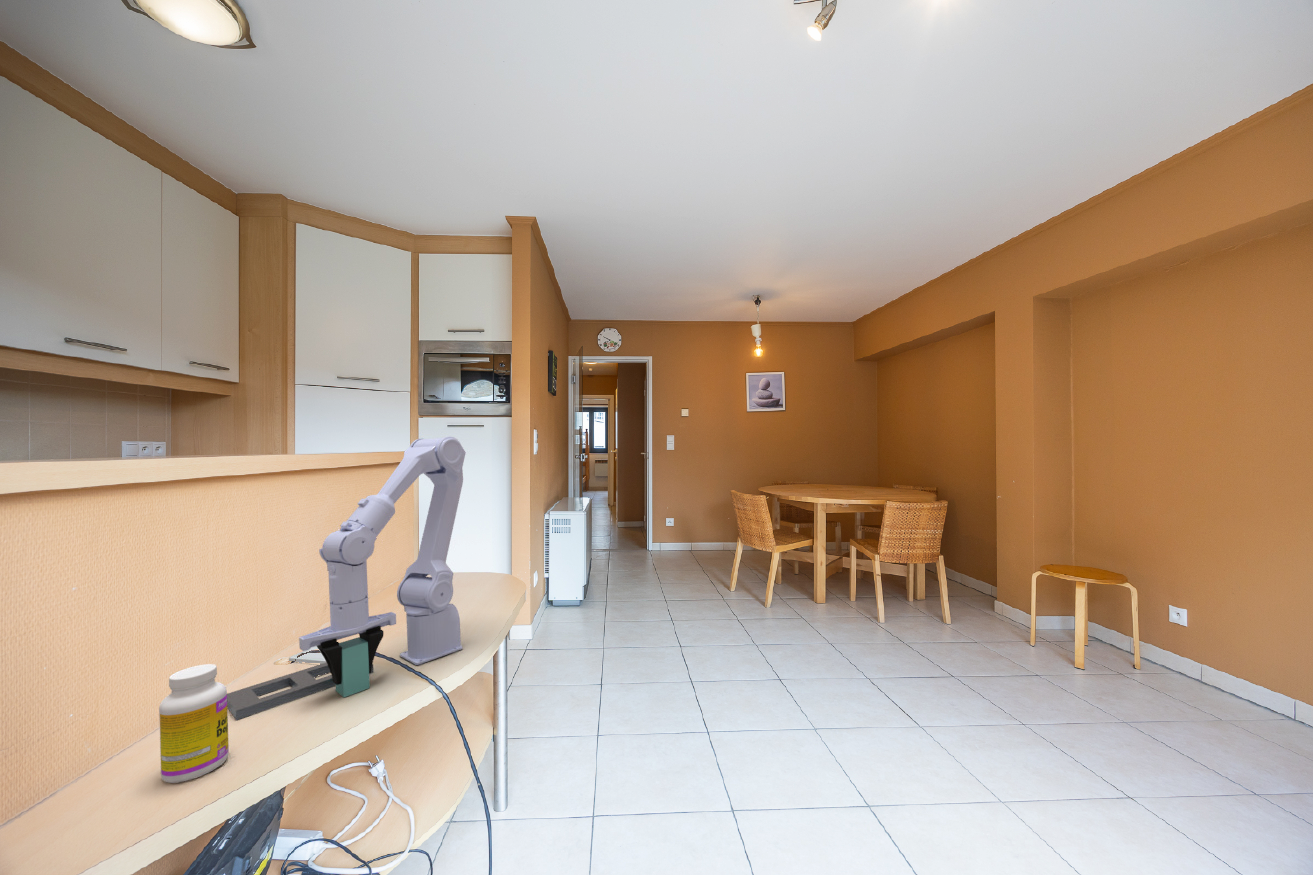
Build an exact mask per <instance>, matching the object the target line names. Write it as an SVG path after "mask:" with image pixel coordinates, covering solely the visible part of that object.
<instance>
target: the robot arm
mask: <svg viewBox="0 0 1313 875" xmlns="http://www.w3.org/2000/svg"><path fill="white" fill-rule="evenodd" d="M466 454H467V453H466V451H465V449H464V447H463V446H462V444H461V442H460V440H459V439H458V438H455V437H454V436H444V437H435V438H417V439H415V440H414V441H412V442H411V443H410V445H409V447H408V448H407V449H406V450H404V453H403V458H402V460H401V461H400V463H399V464H398V465H397V466H396V468H395V469H394V471H393V472H392V474H390V476H389V478H388V479H387V481H386V482H385V483H384V484H383V486H382V487H381V489H379V491H378V493H377V494H371V495H368V496H366V497H365V498H360V500H359V501H358V502H357V505H358V506H357V508H356V509H355V510H354V511H353V512H352V514H351V515H350V516H349V517H348V519H347V520H346V521H343V522H342V523H341V524H340V529H339V530H336V531H333V532H331V533H329V534H328V536H326V538H325V539H324V541H323V543H322V547H321V548H319V550H318V551H319V555H320V558H321V559H322V560H323V561H324V562H325V563H326V568H327V571H326V572H328V596H329V615H330V616H329V619H330V625H329V626H327V627H325V628H322V629H320V630H319V629H318V630H317V631H314V632H313V631H312V632H311V633H308V634H305V635H302V636H299V637H298V641H299V645H298V646H299V649H300V650H301V652H302V651H305V650H309V649H310V648H311V647H315V646H317V648H318V649H319V651H320V652H321V654H322V655H323V657H324V658H325V660H326V662H327V664H328V667H329V669H330V672H331V673H330V674H331V675H332V679H333V683H335V684H336V685H339V684H341V682H342V674H341V652H342V647H341V646H339V643H340V642H339V641H338V640H341V639H346V638H349V637H352V636H353V637H354V636H356V635H358V636H359V637H360V638H362V639H364V640H365V641H367V642H368V659H369V675H371V674H372V673H371V669H372V664H373V663H374V660H375V656H376V653H377V651H378V649H379V648H378V647H379V645H380V644H381V642H382V639H384V635H385V634H384V630H383V629H382V628H384V627H387V626H389V627H390V626H395V625H397V613H395V612H393V611H390V612H385V613H381V614H375V615H370V612H369V592H368V591H369V588H368V564H367V563H368V561H367V560H368V559H369V558H370V557H371V556H372V555H373V553H374V550H375V542H376V541H377V537H378V536H379V534H380V533H381V532H382V531H383V529H384V528H385V527H386V526H387V524H388V523H389V521H390V520H391V519H392V518H393V516H394V515H396V507H395V504H396V502H397V501H398V500H399V499H400V498H401V497H402V496H403V495H404V493H406V491H408V489H409V488H410V487H411V486H412V484H413V483H414V482H416V480H417V479H418V478H419V476H421V475H423V474H424V475H425V476H426V477H427V478H428V479H429V480H430V481H431V483H433V491H432V494H431V500H430V502H429V507H428V511H427V515H426V520H425V524H424V528H423V529H424V530H423V533H422V537H421V541H420V546H419V549H418V555H417V558H416V560H415V561H414V562H413V563H412V564H410V565H408V567H407V568H406V571H405V573H404V577H403V579H402V580H401V581H400V583H399V585H398V587H397V591H396V598H397V601H398V602H399V604H400V605H402V607H403V610H404V612H406V614H405V616H406V617H405V618H406V619H405V620H406V638H407V640H406V641H407V643H406V644H407V650H406V651H403V652H401V653H399V657H401V658H403V659H405V661H409V663H412V664H413V665H415V666H419V665H422V664H425V663H427V662H430V661H433V660H435V659H438V658H441V657H444V656H446V655H447V656H448V655H450V654H453V653H455V652H458V651H460V650H463V646H462V642H461V638H462V637H461V622H460V621H461V620H460V613H459V611H458V608H457V606H456V605H455V604H454V603H451V601H452V600H453V596H454V586H453V580H454V578H453V577H454V572H453V571H452V570H451V568H450V567H449V565H448V564H447V557H448V553H449V548H450V543H451V539H452V534H453V529H454V526H455V525H454V524H455V521H456V520H455V519H456V516H457V512H458V507H459V504H460V503H459V502H460V497H461V492H462V489H463V483H464V473H463V471H464V470H463V466H464V461H465V458H466ZM369 615H370V616H369ZM373 665H374V664H373ZM370 673H371V674H370Z"/></svg>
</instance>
